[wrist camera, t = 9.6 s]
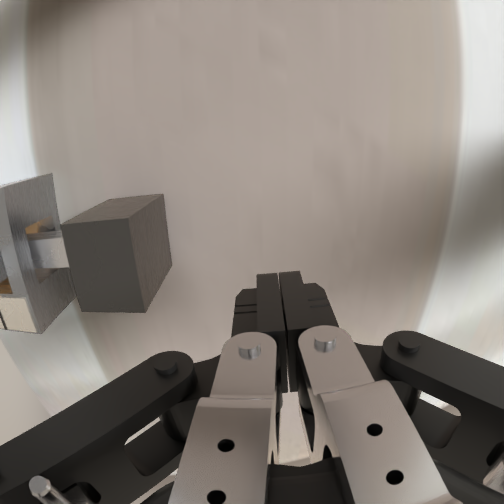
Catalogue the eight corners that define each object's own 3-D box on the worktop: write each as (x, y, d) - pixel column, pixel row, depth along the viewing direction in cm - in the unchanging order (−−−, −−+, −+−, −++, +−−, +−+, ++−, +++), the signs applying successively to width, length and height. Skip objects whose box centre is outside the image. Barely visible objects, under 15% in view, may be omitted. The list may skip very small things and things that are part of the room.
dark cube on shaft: (163, 193, 20) (120, 223, 13) (172, 265, 22) (140, 322, 15) (30, 210, 20) (-34, 240, 13) (43, 269, 22) (-11, 314, 15)
